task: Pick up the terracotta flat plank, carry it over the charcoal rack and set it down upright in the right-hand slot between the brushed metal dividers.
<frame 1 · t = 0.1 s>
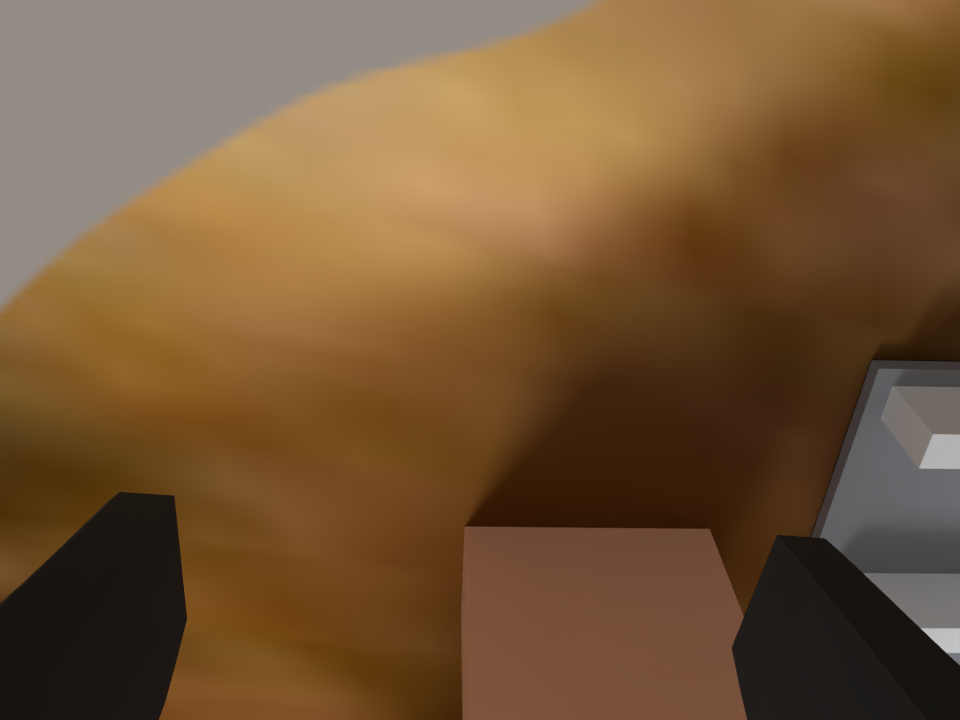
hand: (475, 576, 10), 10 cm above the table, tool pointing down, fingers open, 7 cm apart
terracotta flat plank: (581, 571, 24), on the table
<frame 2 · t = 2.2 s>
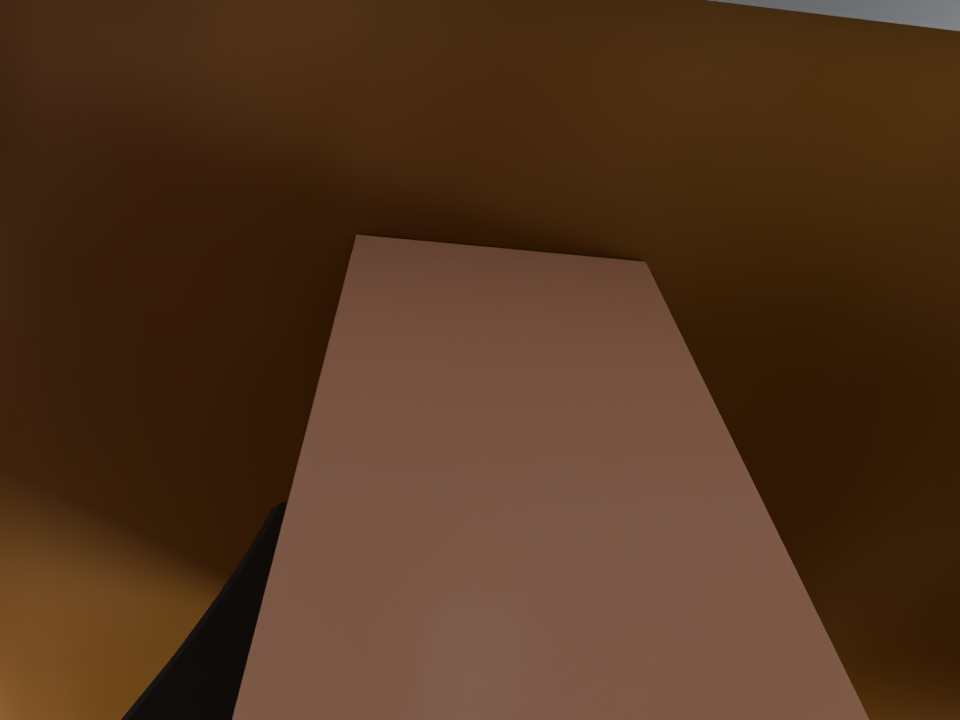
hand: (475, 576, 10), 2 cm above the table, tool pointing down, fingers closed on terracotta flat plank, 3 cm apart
terracotta flat plank: (471, 475, 12), on the table, touching gripper
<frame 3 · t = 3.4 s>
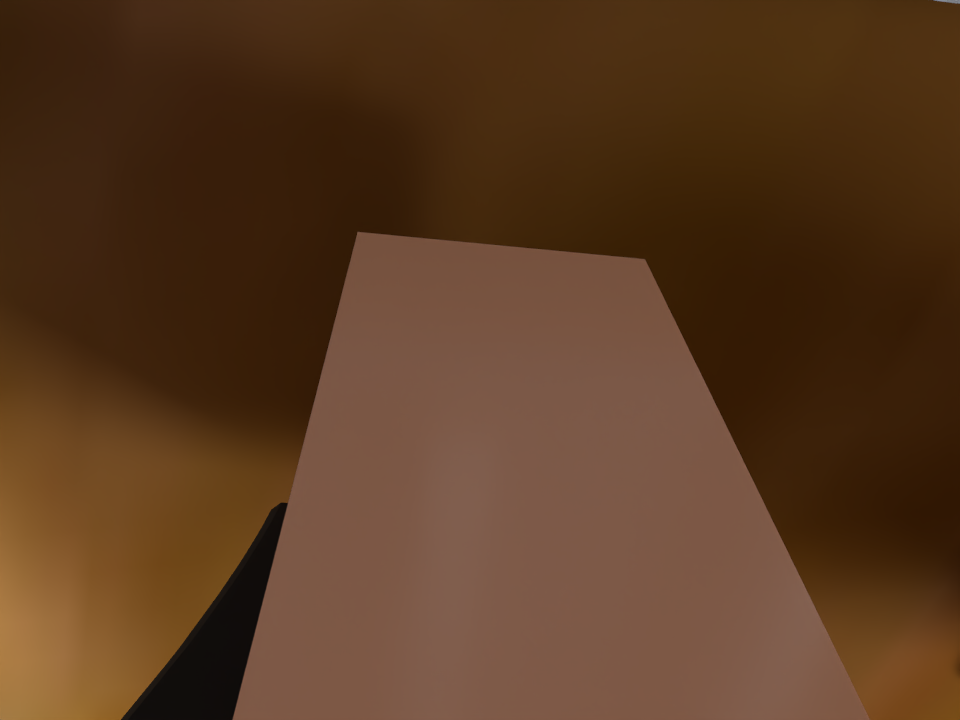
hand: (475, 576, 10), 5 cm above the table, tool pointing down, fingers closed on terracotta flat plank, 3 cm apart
terracotta flat plank: (471, 471, 12), point 3 cm above the table, touching gripper
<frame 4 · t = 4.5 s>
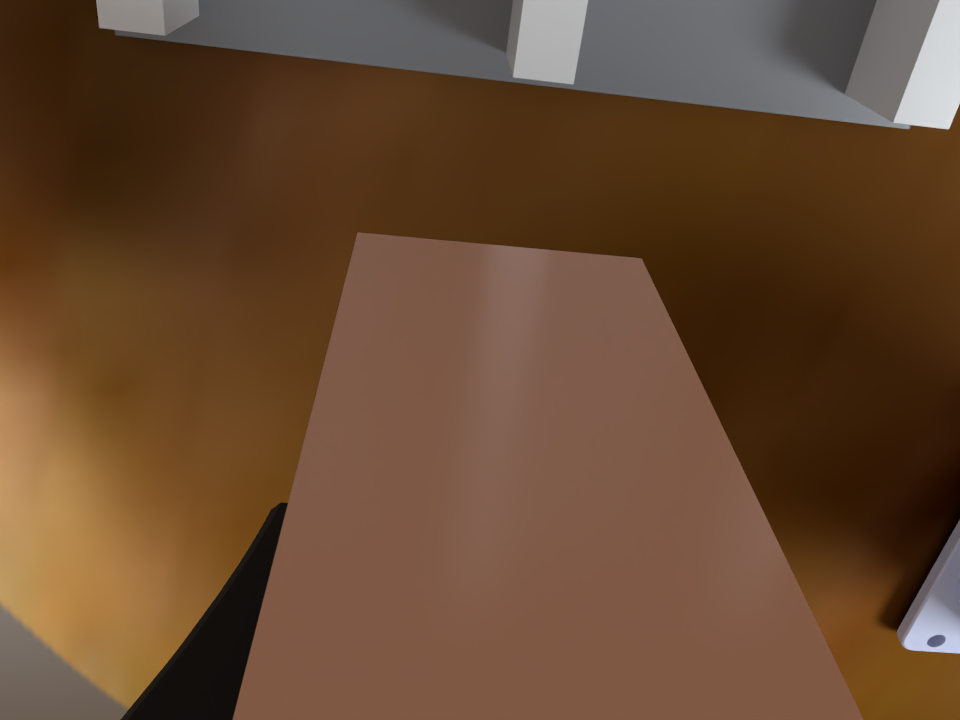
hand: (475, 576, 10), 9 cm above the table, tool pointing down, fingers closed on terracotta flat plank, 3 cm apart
terracotta flat plank: (471, 469, 12), point 7 cm above the table, touching gripper
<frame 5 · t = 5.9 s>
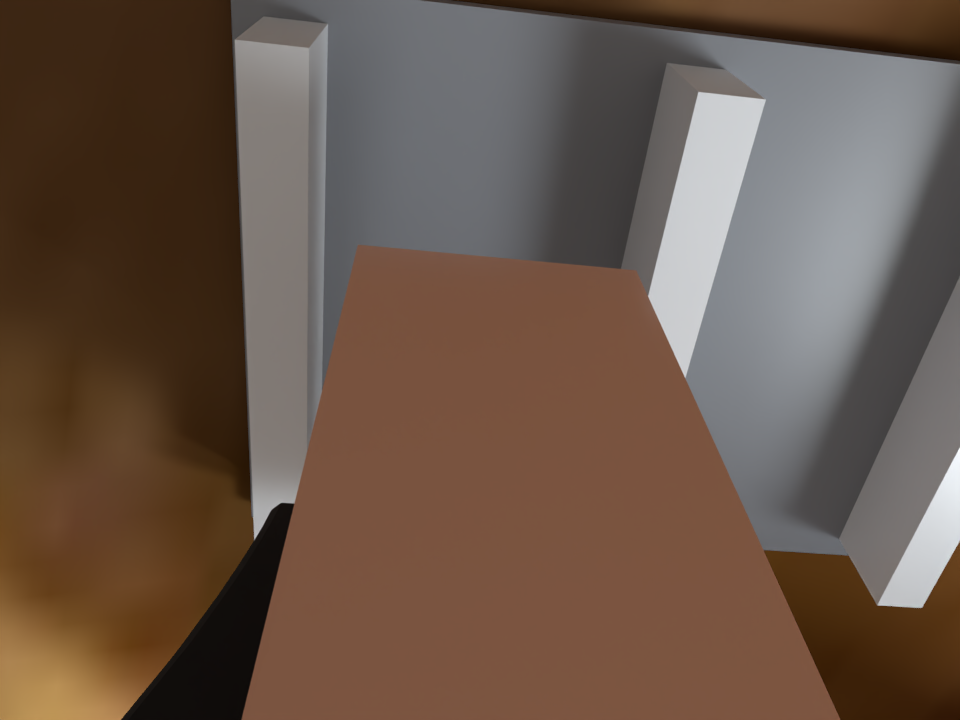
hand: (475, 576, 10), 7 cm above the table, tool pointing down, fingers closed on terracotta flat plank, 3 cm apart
terracotta flat plank: (469, 475, 12), point 5 cm above the table, touching gripper
rack: (628, 321, 16), on the table
when the fingers open (3 cm above the table, at t = 7.0 s): terracotta flat plank stays where it is, resting on rack.
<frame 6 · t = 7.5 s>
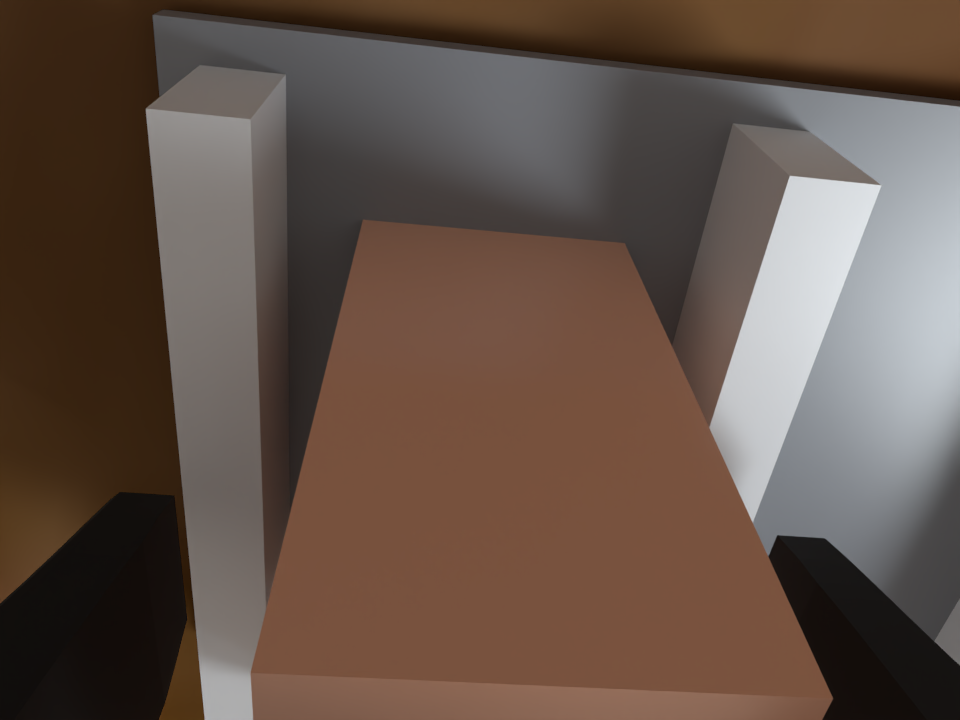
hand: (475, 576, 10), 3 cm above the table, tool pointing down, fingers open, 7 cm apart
terracotta flat plank: (469, 442, 13), resting on rack
rack: (670, 430, 13), on the table
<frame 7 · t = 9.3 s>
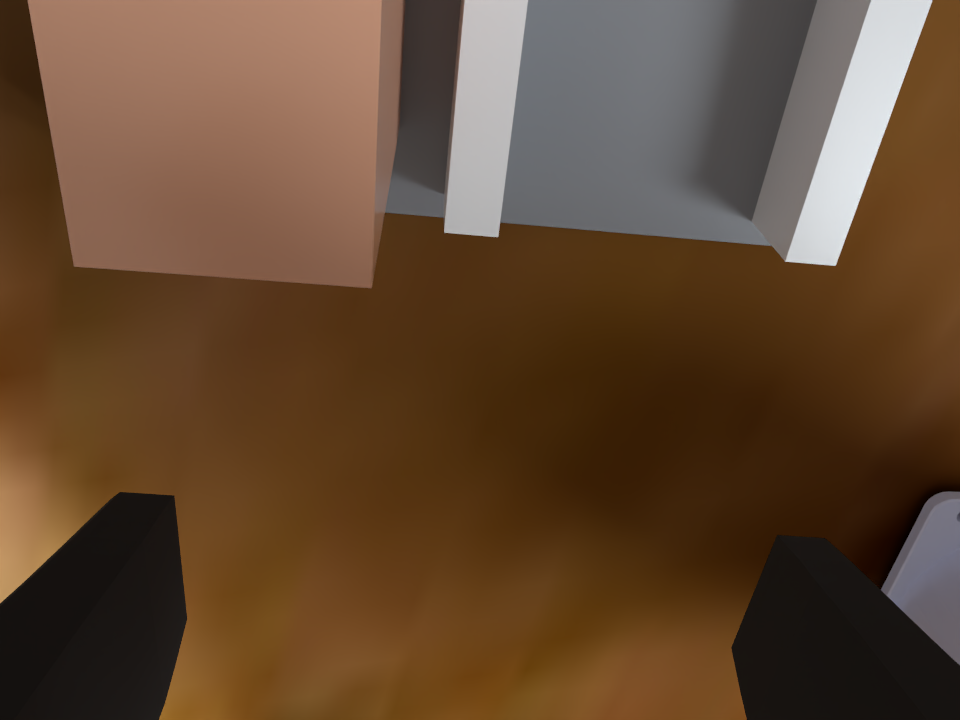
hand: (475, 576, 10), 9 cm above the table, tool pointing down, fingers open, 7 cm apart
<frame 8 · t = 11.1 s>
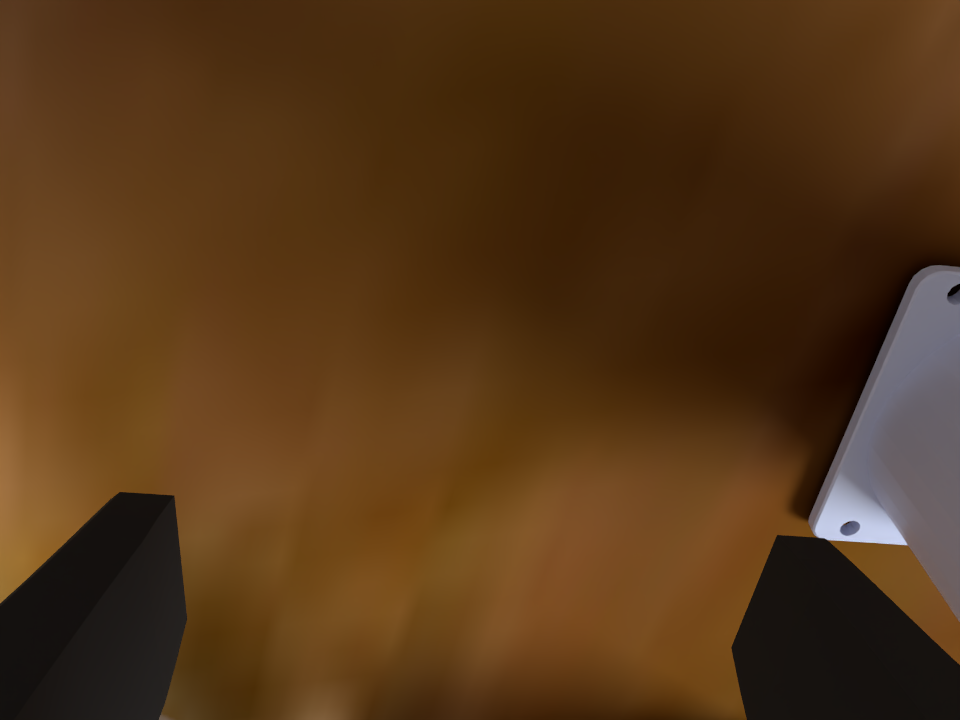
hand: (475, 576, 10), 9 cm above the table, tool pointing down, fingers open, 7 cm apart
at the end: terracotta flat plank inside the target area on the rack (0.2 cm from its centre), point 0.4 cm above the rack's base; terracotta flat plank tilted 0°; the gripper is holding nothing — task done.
